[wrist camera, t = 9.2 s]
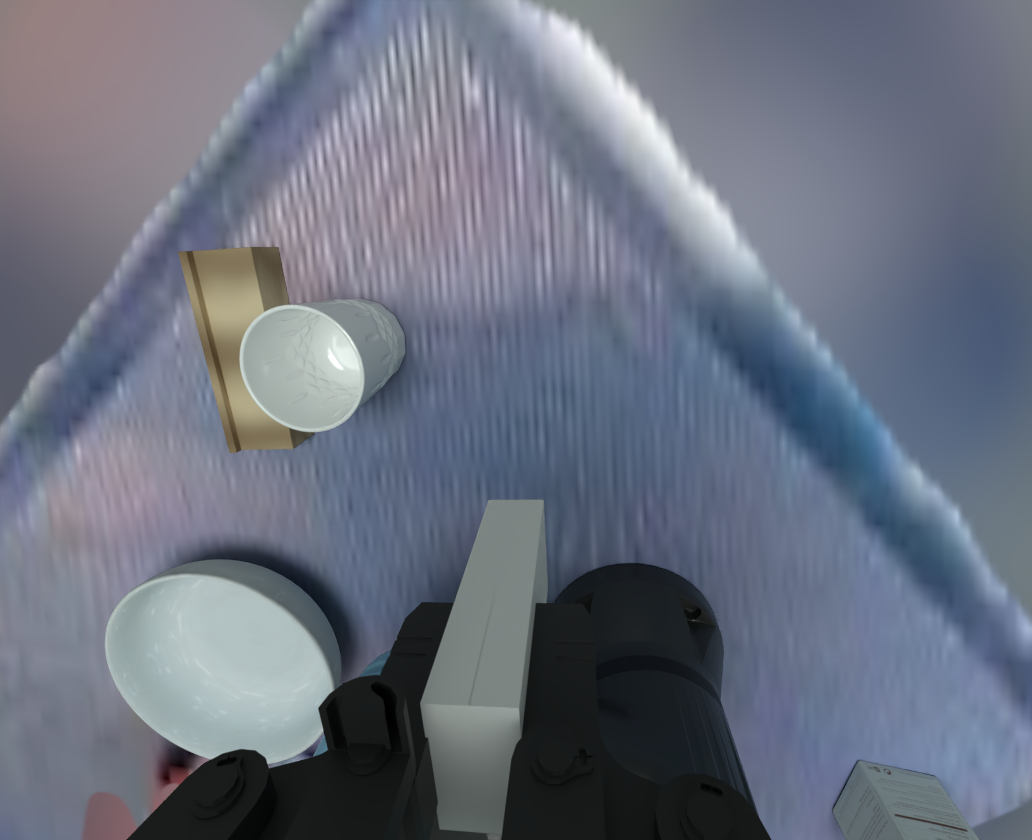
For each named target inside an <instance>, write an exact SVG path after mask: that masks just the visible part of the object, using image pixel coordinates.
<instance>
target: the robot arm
mask: <svg viewBox="0 0 1032 840" xmlns="http://www.w3.org/2000/svg"><path fill="white" fill-rule="evenodd" d="M547 590H548V579H547V558H546V538H545V517H544V500H488V503H487V506H486V509H485V512H484V515H483V518H482V521H481V524H480V527H479V530H478V533H477V536H476V539H475V542H474V545H473V548H472V551H471V554H470V557H469V560H468V563H467V566H466V569H465V572H464V575H463V578H462V581H461V584H460V587H459V590H458V593H457V596H456V599H455V602H454V603H432V602H422V603H421V604H420V605H419V606H418V607H417V608H416V609H415V610H414V611H412V612H411V613H410V614H409V615H408V616H407V617H406V618H405V621H404V623H403V625H402V627H401V630H400V632H399V634H398V636H397V641H395V643H394V645H393V647H392V649H391V650H390V651H387V652H385V653H383V654H381V655H380V656H378V657H377V658H376V659H375V660H374V661H372V662H371V663H370V664H369V665H368V666H367V668H366V669H365V670H364V671H363V673H362V674H361V675H360V677H358V678H356V679H353V680H351V681H348V682H346V683H343V684H342V685H341V686H339V687H338V688H337V689H335V690H334V691H333V692H331V693H330V694H329V695H328V696H327V697H326V699H325V700H324V701H323V702H322V704H321V705H320V706H319V708H318V710H319V714H320V719H321V723H322V727H323V731H324V736H323V738H322V740H321V742H320V744H319V746H318V748H317V750H316V752H315V754H314V756H313V757H311V758H308V759H304V760H301V761H297V762H293V763H289V764H285V765H281V766H277V767H273V768H269V767H268V764H267V761H266V758H265V757H264V756H263V755H261V754H260V753H258V752H257V751H256V750H247V749H238V750H234V751H230V752H226V753H222V754H221V755H219V756H217V757H215V758H213V759H211V760H209V761H207V762H206V763H204V764H203V765H201V766H200V767H199V768H198V769H197V770H195V771H194V772H193V773H192V774H191V775H189V776H188V777H187V778H186V779H185V780H184V781H183V782H182V783H181V784H180V785H179V786H178V787H177V788H176V789H175V790H174V791H173V792H172V794H171V795H170V796H169V797H168V798H167V799H166V800H165V801H164V802H163V803H162V804H161V805H160V806H159V807H158V808H157V809H156V810H155V811H154V812H153V813H152V814H151V815H150V816H149V817H148V818H147V819H146V820H145V821H144V822H143V823H142V824H141V825H140V826H139V827H138V828H137V830H136V831H135V832H134V833H133V834H132V835H131V836H130V837H129V838H128V839H127V840H771V838H770V836H769V835H768V833H767V831H766V829H765V827H764V826H763V824H762V822H761V820H760V818H759V815H758V812H757V809H756V806H755V803H754V800H753V797H752V794H751V791H750V788H749V785H748V782H747V779H746V776H745V773H744V770H743V767H742V764H741V761H740V758H739V755H738V752H737V749H736V746H735V743H734V740H733V737H732V734H731V731H730V728H729V725H728V722H727V719H726V716H725V713H724V710H723V707H722V704H721V701H720V699H721V685H722V670H723V656H724V649H723V641H722V635H721V632H720V629H719V626H718V623H717V621H716V618H715V615H714V613H713V611H712V608H711V606H710V605H709V603H708V601H707V600H706V599H705V597H704V596H703V595H702V594H701V593H700V591H699V590H698V589H697V588H695V587H694V586H693V585H692V584H691V583H689V582H688V581H686V580H685V579H683V578H682V577H680V576H678V575H676V574H674V573H672V572H669V571H667V570H664V569H661V568H657V567H653V566H648V565H640V564H622V565H613V566H608V567H604V568H601V569H598V570H595V571H592V572H590V573H588V574H586V575H584V576H582V577H580V578H579V579H577V580H576V581H574V582H573V583H572V584H570V585H569V586H568V587H567V588H566V589H565V590H564V591H563V592H562V593H561V595H560V596H559V597H558V599H557V600H556V602H555V603H547Z"/></svg>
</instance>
